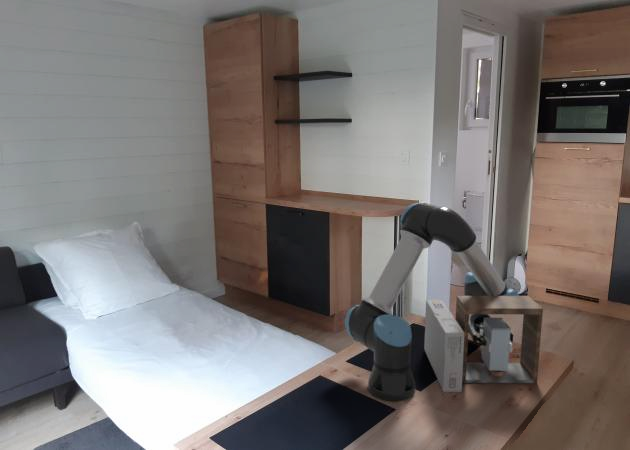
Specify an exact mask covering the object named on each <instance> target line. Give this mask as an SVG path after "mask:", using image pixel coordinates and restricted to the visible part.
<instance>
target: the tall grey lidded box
mask: <svg viewBox="0 0 630 450" xmlns="http://www.w3.org/2000/svg"><path fill="white" fill-rule="evenodd" d="M510 332H511V327H510V326H509V324H508V323H507V322H506V321H505V320H504V319H503V317H491V318H484V323H483V337H484V336H486V337H487V339H488V340H489V341H490V343H491V344H492V348H491V352H489V351H488V350H487V348H486V347H485V346H483V345H481V359H482V361H483V363H485V364H486V366H487V367H488V369H489V370H503V371H508V363H509V359H510V352H509V344H510Z"/></svg>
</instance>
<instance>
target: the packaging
mask: <svg viewBox="0 0 630 450" xmlns="http://www.w3.org/2000/svg"><path fill="white" fill-rule="evenodd" d="M424 315H425V322H424V323H425V325H424V348H423V349H424V352H425V354H426V357H427V358H428V361H429V363H430V366H431V368H432V370H433V372H434V374H435V377H436V378H437V381H438V384H439V385H440V388H441V390H442V392H446V393H447V392H450V393H451V392H462V391H463V389H462V387H463V383H462V372H463V352H464V331H463V330H462V328H461V327H460V325H459V324H458V322H457V321H456V317H454V315H453V314H452V312H451V311H450V309H449V308H448V306H447V305H446V303H445V302H444V301H443V300H442V299H426V300H425V314H424Z"/></svg>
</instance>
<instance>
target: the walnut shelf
mask: <svg viewBox="0 0 630 450" xmlns="http://www.w3.org/2000/svg"><path fill="white" fill-rule="evenodd" d="M455 306H456V308H455V320H456V321H457V322H458V324H459V325H460V327H461V328H462V330H463V331H464V352H463V372H462V384H464V383H466V384H468V383H470V384H471V383H476V384H477V383H478V384H479V383H481V384H482V383H483V384H489V383H490V384H495V383H496V384H538V374H539V373H538V372H539V362H540V361H539V360H540V348H541V338H542V337H541V336H542V327H543V326H542V323H543V312H544V311H543V310H544V308H543V307H542V306H541V305H539V303H537V302H536V301H535V300H534V299H533V298H531V296H530V295H519V296H464V295H456V305H455ZM469 314H488V315H523V319H522V331H521V347H520V358H519V362H517V363H516V362H508V371H503V370H489V369H488V367H487V366H486V364H485V363H484V362H468V361H467V360H468V347H469V346H468V344H469V332H468V328H469V324H470V323H469Z"/></svg>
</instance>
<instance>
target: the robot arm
mask: <svg viewBox="0 0 630 450" xmlns="http://www.w3.org/2000/svg"><path fill="white" fill-rule="evenodd" d="M399 221H400V227H401V228H400V229H399V232H400V233H399V234H400V237H401V238H400V240H398V241H399V242H398V243H397V245H396V247H395V249H394V251H393V253H392V254H391V256H390V258H389V259H388V261H387V263H386V265H385V268H383V271H382V273H381V274H380V276H379V278H378V280H377V282H376V284H375V286H374V288H373V289H372V291H371V293H370V294H369V296H368V297H366V298H362V300H361V302H360V304H356V305H354V306H352V307H351V308H350V309H349V310H348V311H347V313H346V316H345V320H344V325H345V330H346V333H347V334H348V335H349V336H350V337H351V339H353V340H354V341H355V342H357V343H360V344H361V345H363V346H364V347H366V348H367V349H369V350H370V351H372V352H373V366H372V370H371V372H370V374H369V377H368V381H367V388H368V391H369V392H370V394H371V395H372V396H374V397H376V398H378V399H379V400H384V401H388V402H389V401H390V402H399V401H404V400H405V401H406V400H407V399H410V398H412V397H413V396H414V395H415V393H416V382H415V378H414V375H413V372H412V370H411V369H412V368H411V356H412V355H411V354H412V353H411V352H412V337H413V334H412V328H411V324H410V323H409V321H408V320H406V319H405V318H404V317H401V316H399V315H393V312H392V308H393V307H394V305H395V302H396V301H397V299H398V297H399V295H400V294H401V291H402V290H403V288H404V286H405V285H406V282H407V280H408V278H409V276H410V274H411V272H412V271H413V270H414V267H415V265H416V263H417V262H418V260H419V258H420V256H421V254H422V252H423V251H424V250H425V249H428V248H430V246H431V245H432V243H433V242H434V241H438V242H440V243H443V244H444V245H446V246H447V247H448V248H449V249H450V250H451V252H453V253H455V254H457V255H458V257H459V258H460V259H461V261H462V262H463V263H464V265H465V266H466V267H467V269H468V270H469V271H468V272H466V273H465V276H464V283H463V286H464V287H463V288H464V289H463V290H464V291H463V293H464V294H463V296H520V295H519V292H518V291H517V290H514V289H513V288H512V287H511V288H509V287H508V286H507V284H506V283H505V282H504V280H503V279H502V277H501V276H500V274H499V273H498V271H497V270H496V268H495V267H494V265H493V264H492V262H491V261H490V259H489V258H488V256H487V255H486V253H485V251H484V250H483V249H482V247H481V246H480V244H479V243H478V241H477V235H476V233H475V231H474V230H473V229H472V227H471V226H470V225H469V223H468V222H467V221H466V220H465V218H464V217H462V216H461V215H460V214H459V213H458V212H456V211H455V210H453V209H452V208H450V207H446V206H440V205H436V204H430V203H427V202H415V203H412V204H409V205H408V206H406V207H405V208H404V210H403V211H402V213H401V216H400V219H399ZM484 318H492V317H491V316H490V314H469V328H468V334H469V335H470V337H471V339H472V341H473V342H474V343H477V342H478V344H479V345H480V346H482V345H483V346H485V347H486V348H487V350H488V351H489V352H491V348H492V344H491V343H490V341H489V340H488V339H487V337H486V336H484V337H483V323H484ZM478 334H479V335H478ZM513 342H514V334H513V333H512V332H511V331H510V344H509V353H513Z"/></svg>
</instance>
